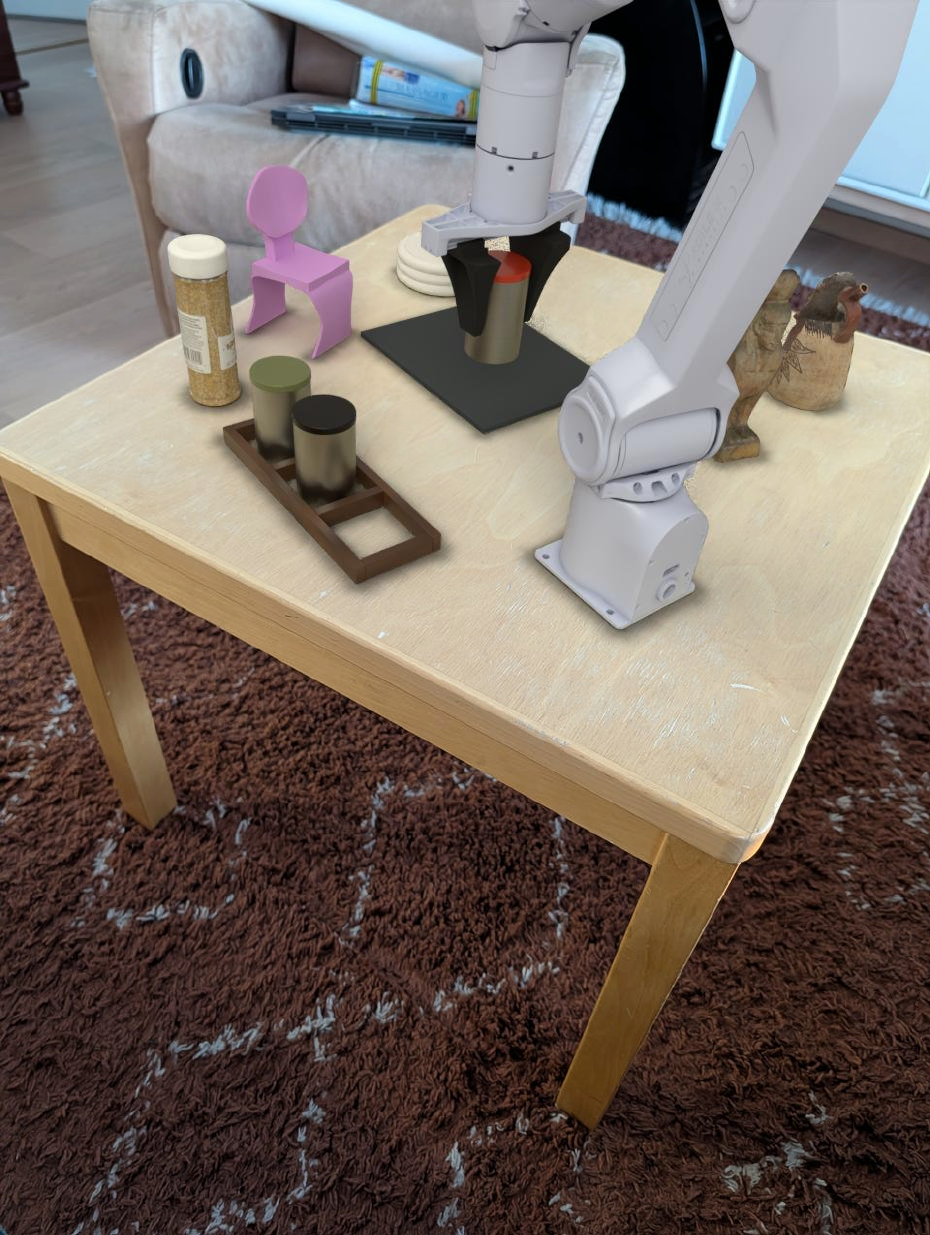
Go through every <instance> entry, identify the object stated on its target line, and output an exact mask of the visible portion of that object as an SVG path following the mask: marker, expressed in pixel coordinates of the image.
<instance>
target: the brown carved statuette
mask: <svg viewBox="0 0 930 1235" xmlns="http://www.w3.org/2000/svg"><path fill="white" fill-rule="evenodd" d="M800 282H801V277H800V275H799V274H798V272H797V270H795V269H793V268H790V269H789V268H786V269H785V268H784V269H783V271H782V272H781V274H780V276H779V277H778V279H777V281H776V282H775V284H774V285H773V287H772V289H771V290H770V292H769V294H768V295H767V297H766V299H765V300H764V302H763V304H762V305H761V307H760V308H759V310H758V312H757V313H756V315H755V317H754V318H753V320H752V322H751V323H750V325H749V326H748V328H747V330H746V331H745V333H744V335H743V336H742V338H741V340H740V341H739V343H738V345H737V346H736V348H735V349H734V351H733V353H732V354H731V356H730V358H729V359H728V361H727V365H728V366H729V368H730V370H731V371H732V373H733V376H734V378H735V381H736V384H737V387H738V390H739V393H740V395H739V397H738V398H737V400H736V402H735V403H734V405H733V406H732V408H731V410H730V413H729V416H728V419H727V425H726V431H725V436H724V439H723V442H722V444H721V446H720V448H719V450H718V451H717V452H716V453H715V454H714V455H713V456H712V457H711V458H713V459H714V460H715V461H716V462H718V463H724V462H730V461H736V460H744V459H747V458H750V459H751V458H756V457H759V455H760V449H761V439H760V437H759V436H758V434H757V433H756V432H755V431H754V430H753V429H752V428H750V426H749V425H748V421H749V419H750V416H751V414H752V412H753V410H754V408H755V407H756V405H757V403H758V402H760V401H759V400H760V399H761V398H762V396H763V395H764V393H765V392H766V391H767V388H768V386H769V385H770V383H771V382H772V381H773V380H774V378H775V376H776V374H777V372H778V370H779V367H780V365H781V362H782V359H783V343H782V342H783V341H782V339H783V337H784V334H785V331H786V330H787V327H788V325H789V324H790V322H791V320H792V314H793V313H792V312H793V310H792V305H791V302H790V299H791V298H792V297H793V295H794V294H795V292H796V289H797V288H798V286H799V284H800Z"/></svg>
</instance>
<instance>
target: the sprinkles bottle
mask: <svg viewBox="0 0 930 1235" xmlns="http://www.w3.org/2000/svg"><path fill="white" fill-rule="evenodd" d="M167 257H168V258H167V259H168V265H169V269H170V271H171V275H172V276H173V277H172V278H173V283H174V289H175V295H176V296H175V298H176V308H177V316H178V321H179V329H180V336H181V341H182V348H183V355H184V361H185V364H186V368H187V369H186V370H187V375H188V381H189V388H188V392H189V396H190V398H191V399H192V400H193V401H195V402H196V403H198V404H201V405H204V406H208V407H219V406H226V405H228V404H232V403H233V402H235V401H237V399H239V397H240V396H241V393H242V386H241V383H240V378H239V369H238V362H237V361H238V354H237V346H236V345H237V344H236V338H235V328H234V320H233V312H232V307H231V298H230V291H229V280H228V272H229V266H230V265H229V264H230V263H229V256H228V248H227V244H226V243H225V242H224V241H223V240H222V239H220V238H218V237H216V236H214V235H213V236H212V235H209V234H200V233H195V234H185V235H181V236H178V237H176V238H174V239H172V240H170V241H169V243H168V245H167Z"/></svg>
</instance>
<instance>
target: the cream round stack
mask: <svg viewBox="0 0 930 1235" xmlns="http://www.w3.org/2000/svg"><path fill="white" fill-rule="evenodd" d="M421 232H422V230H420V231H416V232H413V233H410V234H408V235H407V236H405V237H403V238H402V239H401V240H400V241H399V243H398V244H397V247H396V254H397V257H396V265H397V266H396V275H397V278H398V280H400V282H401V283H402V284H404V285H405V286H406V287H408V288H409V289H411V290H413V291H415V292H418V293H421V294H423V295H424V294H425V295H428V296H434V297H455V295H454V291H453V287H452V284H451V281H450V278H449V275H448V272H447V270H446V267H445V265H444V263H443V260H442V258H441V256H439V257H435V256H434V255H432V254H430V253H429V252H427V251H426V250H425V249H423V248H422V247H421ZM486 247H487V246H485V248H486Z"/></svg>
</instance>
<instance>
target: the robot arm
mask: <svg viewBox="0 0 930 1235" xmlns="http://www.w3.org/2000/svg"><path fill="white" fill-rule="evenodd" d="M633 1H634V0H471V9H472V10H471V11H472V17H473V21H474V26H475V29H476V32H477V35H478V37H479V39H480V40H481V41H482V43H483V53H482V64H481V73H480V74H481V76H480V88H479V99H478V110H477V111H478V113H477V122H476V134H475V136H476V137H475V147H474V159H473V160H474V162H473V174H472V184H471V191H469V192H468V193H467V196H466V197H467V199H466V201H465V202H463V203H461V204H459V205H458V206H455V207H453V208H451V209H450V210H447V211H446V212H444V213H442V214H440V215H438V216H435V217H432V218H428V219H425V220H422V221H421V231H422V232H421V247H422V248H423V249H425V250H426V251H427V252H429V253H430V254H432V255H434V256H435V257H439V256H441V258H442V260H443V263H444V265H445V267H446V270H447V272H448V275H449V278H450V281H451V284H452V287H453V291H454V295H455V296H454V300H455V305H456V306H457V311H458V317H459V324H460V328H462V329H463V330H465V331H466V332H467V333H469V334H470V335H472V336H473V337H477V336H480V335H481V334H482V331H483V328H484V324H485V318H486V310H487V303H488V298H489V294H490V290H491V287H492V284H493V281H494V279H495V276H496V274H497V272H498V270H499V268H500V266H501V264H502V263H501V262H500V261H499V260H497V259H496V258H494V257H493V256H491V255H489V254H488V250H489V247H487V246H486V242H487V241H492V240H495V239H496V240H497V239H499V238H504V237H508V246H509V252H513V253H516V254H519V255H521V256H523V257H525V258H526V259H528V260H529V262H530V263H531V273H530V276H529V283H528V290H527V298H526V305H525V313H524V320H523V322H524V323H528V322H530V321H531V319H532V316H533V314H534V312H535V309H536V307H537V304H538V302H539V299H540V298H541V295H542V293H543V290H544V288H545V286H546V284H547V282H548V281H549V279H550V278H551V275H552V274H553V272H554V270H555V269H556V267H557V266H558V264H559V263H560V262H561V260H562V259H564V257H565V255H566V254H567V253H568V252H569V251H570V249H571V244H572V243H571V242H572V237H571V235H569V233H567V232H564V231H563V230H561V227H562V224H564V223H568V222H569V223H570V224H572V225H578V224H583V223H584V222H585V217H586V211H587V204H588V201H589V200H588V198H589V197H587V196H585V195H583V194H581V193H579V192H577V191H575V190H574V189H567V190H558V191H557V190H556V191H551V184H552V176H553V170H554V169H553V168H554V161H555V157H556V156H555V155H556V149H557V148H556V147H557V141H558V134H559V128H560V119H561V113H562V106H563V97H564V91H565V85H566V84H565V83H566V79H567V78H568V77H571V76H572V74H573V73H574V72H573V70H576V65H577V59H578V53H579V50H580V46H581V44H582V42H583V40H584V39H585V37H586V36H587V34H588V32H589V29H590V27H591V24H592V22H594V21H596V20H598V19H600V18H602V17H604V16H607V15H608V14H610V13H612V12H614V11H617V10H618V9H620V8H622V7H624V6H626V5H628V4H630V3H632V2H633ZM717 1H718V4H719V7H720V10H721V12H722V15H723V18H724V21H725V25H726V28H727V31H728V33H729V36H730V38H731V41H732V44H733V47H734V49H735V50H736V51H737V52H738V53H740V54H741V55H742V56H743V57H745V58H746V59H747V60H748V61H750V62H751V63H752V64H753V66H754V71H755V82H754V84H753V85H754V86H753V88H752V90H751V92H750V94H749V96H748V97H747V100H746V102H745V104H744V107H743V108H742V110H741V113H740V115H739V116H738V119H737V121H736V123H735V126H734V128H733V130H732V132H731V134H730V136H729V138H728V139H727V142H726V144H725V147H724V148H723V150H722V153H721V155H720V157H719V159H718V161H717V163H716V166H715V168H714V169H713V171H712V174H711V175H710V178H709V180H708V182H707V184H706V186H705V188H704V190H703V192H702V194H701V196H700V199H699V201H698V203H697V205H696V207H695V209H694V212H693V213H692V215H691V218H690V220H689V222H688V224H687V226H686V228H685V230H684V232H683V234H682V236H681V238H680V241H679V242H678V245H677V247H676V249H675V251H674V254H673V255H672V258H671V259H670V262H669V263H668V266H667V268H666V269H665V272H664V274H663V277H662V278H661V280H660V282H659V285H658V287H657V289H656V291H655V293H654V295H653V298H652V299H651V302H650V303H649V306H648V308H647V309H646V312H645V314H644V316H643V318H642V320H641V322H640V325H639V327H638V329H637V331H636V333H635V335H634V336H632V337H631V338H630V339H629V340H627V341H626V342H624V343H622V344H621V345H619V346H618V347H617V348H615V349H613V350H612V351H610V352H609V353H607V354H606V355H605V356H603V357H602V358H600V359H598V360H597V361H596V362H594V363H592V364H591V367H590V368H589V370H588V373H587V375H586V377H585V379H584V381H583V382H582V383H581V384H580V385H579V386H578V387H576V388H575V389H573V390H571V391H570V392H569V393H568V395H567V396H566V398H565V400H564V402H563V404H562V406H561V408H560V411H559V413H558V418H557V419H558V421H557V438H558V439H557V440H558V444H559V450H560V452H561V455H562V458H563V460H564V462H565V464H566V466H567V467H568V469H569V470H570V472H571V473H572V474H574V483H573V485H572V491H571V496H570V501H569V505H568V506H569V507H568V510H567V516H566V520H565V521H566V522H565V526H564V531H563V535H562V538H559V539H557V540H555V541H553V542H551V543H549V544H545V545H544V546H541V547H539V548H537V549H535V551H534V558H535V560H537V561H538V562H539V563H540V564H541V565H543V566H544V567H545V568H546V569H547V570H548V571H549V572H551V573H552V575H554V576H555V577H556V578H558V580H559V581H561V582H562V583H563V584H564V585H566V586H567V587H568V588H569V589H570V590H571V591H572V592H573V593H574V594H576V595H577V596H578V597H580V599H581V600H583V601H584V602H585V603H586V604H587V605H588V606H590V607H591V608H592V609H593V610H594V611H595V612H596V613H598V614H599V615H600V616H601V617H602V618H604V620H606V622H608V623H609V624H610V625H611V626H613V628H615V629H618V630H622V629H626V628H627V627H629V626H632V625H633V624H635V623H637V622H639V621H640V620H643V619H645V618H646V617H648V616H650V615H652V614H654V613H656V612H658V611H659V610H661V609H663V608H665V607H667V606H669V605H671V604H672V603H675V602H676V601H678V600H681V599H682V598H684V597H686V596H688V595H690V594H691V593H693V592H694V591H695V588H696V585H695V583H694V582H693V581H692V580H693V577H694V575H695V572H696V568H697V566H698V562H699V559H700V557H701V554H702V551H703V548H704V545H705V542H706V540H707V536H708V533H709V525H710V523H709V519H708V516H707V515H706V513H704V511H703V510H702V509H701V508H700V507H698V505H697V504H696V503H695V502H694V501H693V499H692V497H691V495H690V494H689V491H688V490H687V488H686V484H685V482H686V481H687V480H689V479H692V478H693V477H694V475H695V471H696V468H697V464H698V462H704V461H707V460H709V459H711V458H713V457H712V456H713V455H714V454H715V453H716V452H717V451H718V450H719V448H720V446H721V444H722V442H723V439H724V436H725V431H726V425H727V419H728V416H729V413H730V410H731V408H732V406H733V405H734V403H735V402H736V400H737V398H738V397H739V395H740V393H739V390H738V387H737V384H736V381H735V378H734V376H733V373H732V371H731V370H730V368H729V366H728V365H727V361H728V359H729V358H730V356H731V354H732V353H733V351H734V349H735V348H736V346H737V345H738V343H739V341H740V340H741V338H742V336H743V335H744V333H745V331H746V330H747V328H748V326H749V325H750V323H751V322H752V320H753V318H754V317H755V315H756V313H757V312H758V310H759V308H760V307H761V305H762V304H763V302H764V300H765V299H766V297H767V295H768V294H769V292H770V290H771V289H772V287H773V285H774V284H775V282H776V281H777V279H778V277H779V276H780V274H781V272H782V271H783V270H784V269H785V268H786V266H787V265H788V263H789V261H790V259H791V258H792V256H793V254H794V252H795V251H796V249H797V248H798V246H799V244H800V243H801V241H802V240H803V238H804V236H805V235H806V233H807V231H808V230H809V228H810V226H811V225H812V223H813V221H814V220H815V218H816V217H817V215H818V214H819V212H820V210H821V208H822V207H823V205H824V203H825V202H826V200H827V198H828V197H829V195H830V193H831V192H832V190H833V189H834V187H835V185H836V184H837V182H838V181H839V179H840V177H841V176H842V174H843V173H844V171H845V169H846V168H847V166H848V164H849V162H850V161H851V160H852V157H853V156H854V155H855V153H856V151H857V149H858V148H859V146H860V145H861V143H862V141H863V140H864V138H865V136H866V135H867V133H868V131H869V130H870V128H871V126H872V125H873V123H874V121H875V120H876V118H877V116H878V115H879V113H880V112H881V109H883V107H884V105H885V104H886V102H887V99H888V97H889V95H890V94H891V91H892V89H893V88H894V85H895V83H896V80H897V77H898V74H899V71H900V67H901V65H902V60H903V57H904V54H905V51H906V48H907V44H908V40H909V37H910V34H911V31H912V27H913V24H914V20H915V18H916V14H917V12H918V11H917V10H918V7H919V4H920V1H921V0H717ZM485 247H486V248H485Z"/></svg>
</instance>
